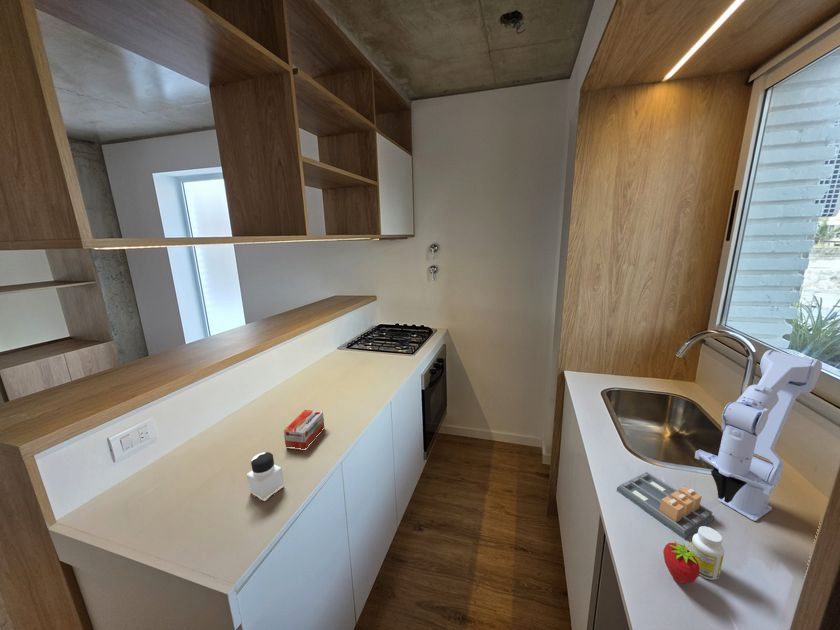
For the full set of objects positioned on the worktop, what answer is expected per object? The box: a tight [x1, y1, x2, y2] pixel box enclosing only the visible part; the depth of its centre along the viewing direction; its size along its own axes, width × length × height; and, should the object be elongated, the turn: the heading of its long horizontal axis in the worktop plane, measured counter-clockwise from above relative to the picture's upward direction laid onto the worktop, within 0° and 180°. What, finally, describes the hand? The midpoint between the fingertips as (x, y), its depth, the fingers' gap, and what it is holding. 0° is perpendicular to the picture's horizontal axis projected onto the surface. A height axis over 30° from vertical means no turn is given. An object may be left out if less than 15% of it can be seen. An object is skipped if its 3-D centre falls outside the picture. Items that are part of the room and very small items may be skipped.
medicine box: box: [283, 409, 325, 449], centre depth 127 cm, size 15×8×8 cm, turn 168°
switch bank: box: [616, 471, 715, 540], centre depth 93 cm, size 13×18×2 cm
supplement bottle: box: [689, 525, 725, 581], centre depth 74 cm, size 5×5×10 cm
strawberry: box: [662, 540, 700, 584], centre depth 72 cm, size 6×8×10 cm
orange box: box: [659, 496, 684, 523], centre depth 87 cm, size 3×4×5 cm, turn 25°
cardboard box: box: [678, 485, 703, 511], centre depth 90 cm, size 3×4×5 cm, turn 25°
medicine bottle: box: [246, 451, 285, 499], centre depth 101 cm, size 7×7×12 cm
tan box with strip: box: [670, 490, 693, 517], centre depth 89 cm, size 3×4×5 cm, turn 25°
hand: (724, 498), depth 83 cm, fingers closed
